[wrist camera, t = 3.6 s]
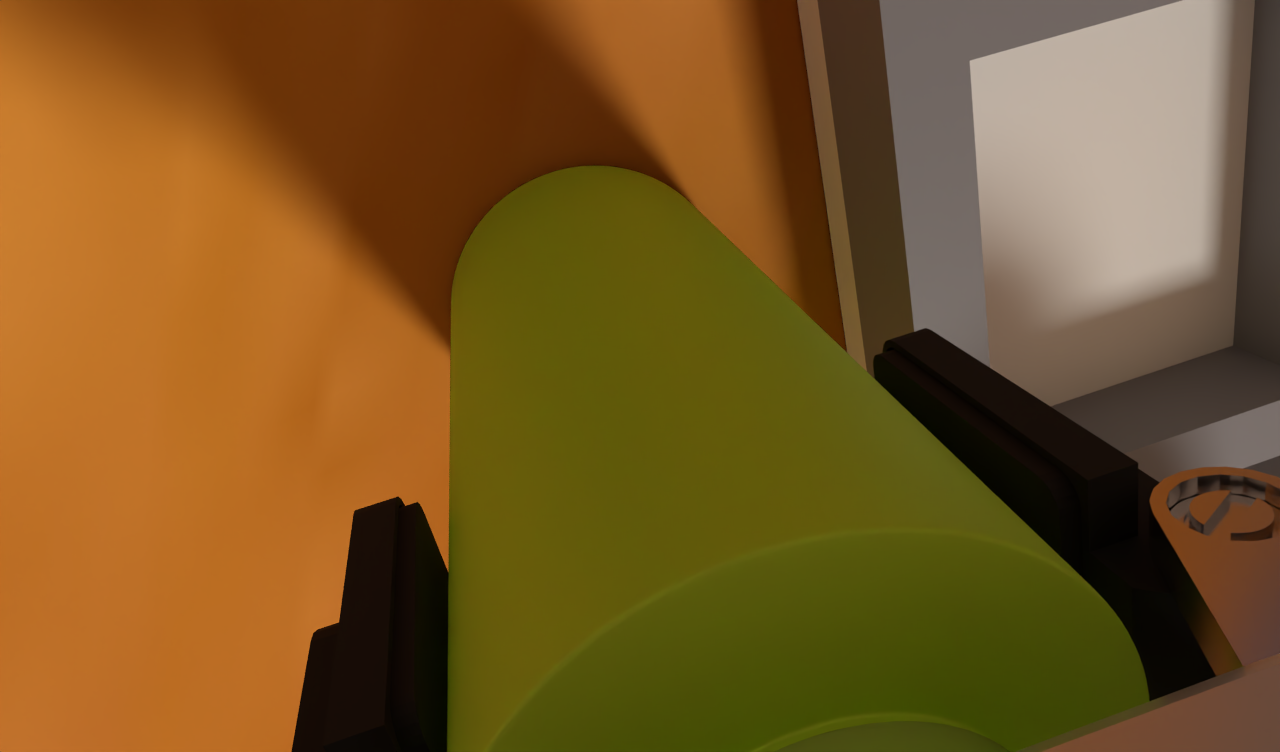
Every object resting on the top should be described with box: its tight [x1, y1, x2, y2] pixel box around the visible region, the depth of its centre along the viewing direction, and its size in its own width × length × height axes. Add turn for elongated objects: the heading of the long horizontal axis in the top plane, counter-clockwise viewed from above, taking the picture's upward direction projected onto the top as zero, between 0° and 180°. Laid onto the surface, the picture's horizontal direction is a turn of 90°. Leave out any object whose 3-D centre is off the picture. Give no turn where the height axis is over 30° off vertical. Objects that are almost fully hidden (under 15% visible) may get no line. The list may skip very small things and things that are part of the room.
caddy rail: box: [797, 0, 1280, 482], centre depth 17 cm, size 26×11×12 cm, turn 13°
